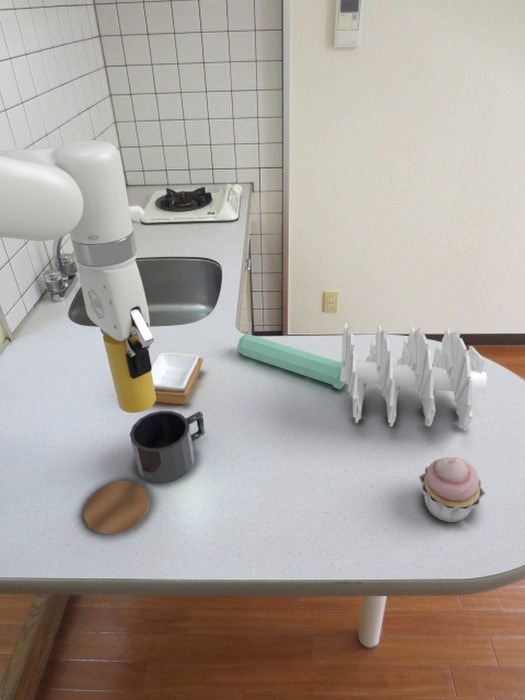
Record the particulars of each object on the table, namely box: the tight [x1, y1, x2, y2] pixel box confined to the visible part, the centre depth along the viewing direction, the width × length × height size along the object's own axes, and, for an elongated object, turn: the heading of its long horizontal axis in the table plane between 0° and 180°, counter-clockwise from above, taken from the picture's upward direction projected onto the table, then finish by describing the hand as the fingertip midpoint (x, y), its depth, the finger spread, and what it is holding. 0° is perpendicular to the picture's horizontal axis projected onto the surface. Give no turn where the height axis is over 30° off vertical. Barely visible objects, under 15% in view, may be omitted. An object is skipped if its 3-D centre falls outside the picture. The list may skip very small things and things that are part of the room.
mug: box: [129, 410, 206, 484], centre depth 89 cm, size 13×10×8 cm
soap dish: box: [151, 351, 204, 405], centre depth 106 cm, size 12×10×5 cm
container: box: [237, 333, 346, 391], centre depth 110 cm, size 6×6×25 cm
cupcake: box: [418, 456, 486, 523], centre depth 78 cm, size 9×9×10 cm
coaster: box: [83, 480, 150, 535], centre depth 83 cm, size 10×10×1 cm
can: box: [102, 327, 156, 414], centre depth 76 cm, size 6×6×12 cm
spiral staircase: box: [340, 322, 488, 431], centre depth 93 cm, size 18×18×25 cm
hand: (129, 363), depth 76 cm, fingers closed on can, 5 cm apart
